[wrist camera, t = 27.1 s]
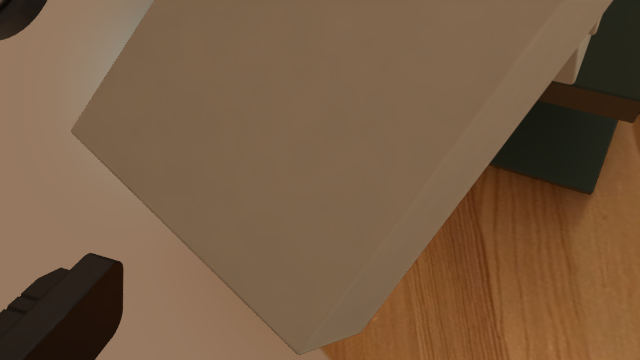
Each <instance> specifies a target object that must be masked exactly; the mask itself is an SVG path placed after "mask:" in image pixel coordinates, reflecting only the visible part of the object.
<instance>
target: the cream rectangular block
mask: <svg viewBox="0 0 640 360" xmlns="http://www.w3.org/2000/svg"><path fill="white" fill-rule="evenodd" d="M612 1H613V0H154V2H153V3H152V5H151V7H150V8H149V10H148V11H147V13H146V14H145V16H144V18H143V19H142V20H141V22H140V24H139V25H138V27H137V28H136V30H135V31H134V33H133V35H132V36H131V38H130V39H129V41H128V42H127V44H126V45H125V47H124V49H123V50H122V52H121V53H120V55H119V56H118V58H117V59H116V61H115V63H114V64H113V66H112V67H111V69H110V70H109V72H108V73H107V75H106V77H105V78H104V80H103V81H102V83H101V84H100V86H99V88H98V89H97V90H96V92H95V94H94V95H93V97H92V98H91V100H90V101H89V103H88V105H87V106H86V108H85V109H84V111H83V112H82V114H81V116H80V117H79V118H78V120H77V122H76V123H75V125H74V126H73V128H72V130H71V132H72V134H74V135H75V136H76V137H77V138H78V139H79V140H80V141H81V142H82V143H83V144H84V145H85V146H86V147H87V148H88V149H89V150H90V151H91V152H92V153H93V154H94V155H95V156H96V157H97V158H98V159H99V160H100V161H101V162H102V163H103V164H104V165H105V166H106V167H107V168H108V169H109V170H110V171H111V172H112V173H113V174H114V175H115V176H116V177H117V178H118V179H119V180H120V181H121V182H123V184H124V185H125V186H126V187H128V189H129V190H131V192H133V193H134V194H135V195H136V196H137V197H138V198H139V199H140V200H141V201H142V202H143V203H144V204H145V205H146V206H147V207H148V208H149V209H150V210H151V211H152V212H153V213H154V214H155V215H156V216H157V217H158V218H159V219H160V220H161V221H162V222H163V223H164V224H165V225H166V226H167V227H168V228H169V229H170V230H171V231H172V232H173V233H174V234H176V235H177V237H178V238H179V239H180V240H181V241H182V242H183V243H184V244H185V245H187V247H188V248H189V249H191V251H192V252H194V253H195V254H196V255H197V256H198V257H199V258H200V259H201V260H202V261H203V262H204V263H205V264H206V265H207V266H208V267H209V268H210V269H211V270H212V271H213V272H214V273H215V274H216V275H217V276H218V277H219V278H220V279H221V280H222V281H223V282H224V283H225V284H226V285H227V286H228V287H229V288H230V289H231V290H232V291H233V292H234V293H235V294H236V295H237V296H238V297H239V298H240V299H241V300H242V301H243V302H244V303H245V304H246V305H247V306H248V307H249V308H251V309H252V310H253V311H254V312H255V313H256V314H257V315H258V316H259V317H260V318H261V319H262V320H263V321H264V322H265V323H266V324H267V325H268V326H269V327H270V328H271V329H272V330H273V331H274V332H275V333H276V334H277V335H278V336H279V337H280V338H281V339H282V340H283V341H284V342H285V343H286V344H287V345H288V346H289V347H290V348H291V349H292V350H293V351H294V352H295V353H296V354H298V355H301V354H303V353H306V352H309V351H312V350H315V349H317V348H320V347H323V346H326V345H328V344H331V343H334V342H337V341H339V340H342V339H345V338H348V337H350V336H353V335H356V334H359V333H361V332H362V331H363V329H364V328H365V327H366V325H367V324H368V323H369V321H370V320H371V319H372V317H373V316H374V315H375V313H376V312H377V311H378V310H379V308H380V307H381V306H382V304H383V303H384V302H385V300H386V299H387V298H388V296H389V295H390V294H391V292H392V291H393V290H394V288H395V287H396V286H397V284H398V283H399V282H400V281H401V279H402V278H403V277H404V275H405V274H406V273H407V271H408V270H409V269H410V267H411V266H412V265H413V263H414V262H415V261H416V259H417V258H418V257H419V255H420V254H421V253H422V252H423V250H424V249H425V248H426V246H427V245H428V244H429V242H430V241H431V240H432V238H433V237H434V236H435V234H436V233H437V232H438V230H439V229H440V228H441V226H442V225H443V224H444V223H445V221H446V220H447V219H448V217H449V216H450V215H451V213H452V212H453V211H454V209H455V208H456V207H457V205H458V204H459V203H460V201H461V200H462V199H463V198H464V196H465V195H466V194H467V192H468V191H469V190H470V188H471V187H472V186H473V184H474V183H475V182H476V180H477V179H478V178H479V176H480V175H481V174H482V172H483V171H484V170H485V169H486V167H487V166H488V165H489V163H490V162H491V161H492V159H493V158H494V157H495V155H496V154H497V153H498V151H499V150H500V149H501V147H502V146H503V145H504V143H505V142H506V141H507V140H508V138H509V137H510V136H511V134H512V133H513V132H514V130H515V129H516V128H517V126H518V125H519V124H520V122H521V121H522V120H523V118H524V117H525V116H526V114H527V113H528V112H529V111H530V109H531V108H532V107H533V105H534V104H535V103H536V101H537V100H538V99H539V97H540V96H541V95H542V93H543V92H544V91H545V89H546V88H547V87H548V85H549V84H550V83H551V82H552V80H553V79H554V78H555V76H556V75H557V74H558V72H559V71H560V70H561V68H562V67H563V66H564V64H565V63H566V62H567V60H568V59H569V58H570V56H571V55H572V54H573V53H574V51H575V50H576V49H577V47H578V46H579V45H580V43H581V42H582V41H583V39H584V38H585V37H586V35H587V34H588V33H589V31H590V30H591V29H592V27H593V26H594V25H595V24H596V22H597V21H598V20H599V18H600V17H601V16H602V14H603V13H604V12H605V10H606V9H607V8H608V6H609V5H610V4H611V2H612Z"/></svg>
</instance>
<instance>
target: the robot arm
mask: <svg viewBox="0 0 640 360" xmlns="http://www.w3.org/2000/svg"><path fill="white" fill-rule="evenodd" d="M10 1H11V0H0V10H1V9H3V8H4V7H5V6H6V5H7V4H8V3H9V2H10ZM122 312H123V264H122V263H121V262H120V261H116V260H113V259H110V258H106V257H103V256H99V255H96V254H93V253H89V254H87V255H85V256H84V257H83V258H82V259H81V260H80V261H79V262H78V263H77V264H76V265H75V266H74V267H73V268H72V269H70V270H67V269H63V268H59V269H57V270H55V271H53V272H51V273H48V274H46V275H44V276H42V277H40V278H38V279H37V280H36V281H35V282H34V283H33V284H31V285H30V286H29V287H28V288H27V289H26V290H25V291H24V292H23V293H22V294H21V296H20V297H17V298H16V299H15V300H14V301H13V302H12V303H10V304H9V305H8V307H7V309H6V310H5V309H4V310H3V311H2V312H1V313H0V360H95V359H96V357H97V356H98V355H99V353H100V352H101V351H102V349H103V348H104V347H105V346H106V344H107V343H108V342H109V341H110V339H111V338H112V337H113V335H114V334H115V332H116V330H117V328H118V326H119V324H120V321H121V317H122Z"/></svg>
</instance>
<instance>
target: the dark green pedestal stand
mask: <svg viewBox="0 0 640 360" xmlns="http://www.w3.org/2000/svg"><path fill="white" fill-rule="evenodd" d="M639 113H640V0H613V1H612V2H611V4H610V5H609V6H608V8H607V9H606V10H605V12H604V13H603V14H602V16H601V17H600V18H599V20H598V21H597V22H596V24H595V25H594V26H593V27H592V29H591V30H590V31H589V33H588V34H587V35H586V37H585V38H584V39H583V41H582V42H581V43H580V45H579V46H578V47H577V49H576V50H575V51H574V53H573V54H572V55H571V56H570V58H569V59H568V60H567V62H566V63H565V64H564V66H563V67H562V68H561V70H560V71H559V72H558V74H557V75H556V76H555V78H554V79H553V80H552V82H551V83H550V84H549V85H548V87H547V88H546V89H545V91H544V92H543V93H542V95H541V96H540V97H539V99H538V100H537V101H536V103H535V104H534V105H533V107H532V108H531V109H530V111H529V112H528V113H527V114H526V116H525V117H524V118H523V120H522V121H521V122H520V124H519V125H518V126H517V128H516V129H515V130H514V132H513V133H512V134H511V136H510V137H509V138H508V140H507V141H506V142H505V143H504V145H503V146H502V147H501V149H500V150H499V151H498V153H497V154H496V155H495V157H494V158H493V159H492V161H491V162H490V163H489V165H490V166H494V167H497V168H500V169H504V170H507V171H511V172H514V173H517V174H521V175H524V176H527V177H531V178H534V179H538V180H541V181H544V182H548V183H551V184H554V185H558V186H561V187H564V188H568V189H571V190H575V191H578V192H581V193H585V194H588V195H591V194H592V193H593V191H594V188H595V185H596V182H597V179H598V176H599V174H600V171H601V168H602V165H603V162H604V159H605V156H606V154H607V151H608V148H609V145H610V142H611V139H612V137H613V134H614V131H615V128H616V125H617V122H618V120H621V121H626V122H630V123H634V121H635V120H636V118H637V117H638V115H639Z"/></svg>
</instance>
